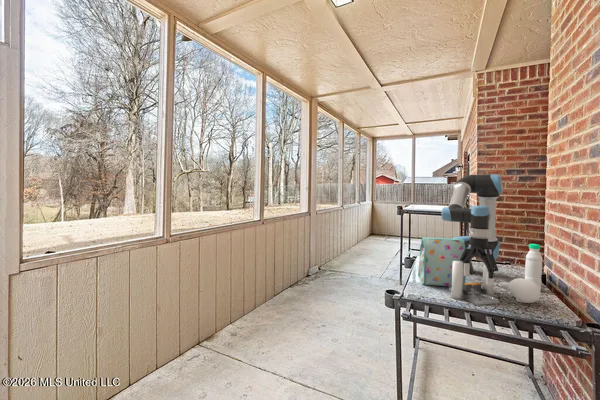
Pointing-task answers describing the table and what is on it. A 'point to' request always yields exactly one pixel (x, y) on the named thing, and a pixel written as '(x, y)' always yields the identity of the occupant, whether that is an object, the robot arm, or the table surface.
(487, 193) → the robot arm
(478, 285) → the orange-faced thin slab
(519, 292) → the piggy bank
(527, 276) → the water bottle
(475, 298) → the plate
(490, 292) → the off-white domed rod
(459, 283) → the white tapered rounded cylinder
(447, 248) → the lunch bag
